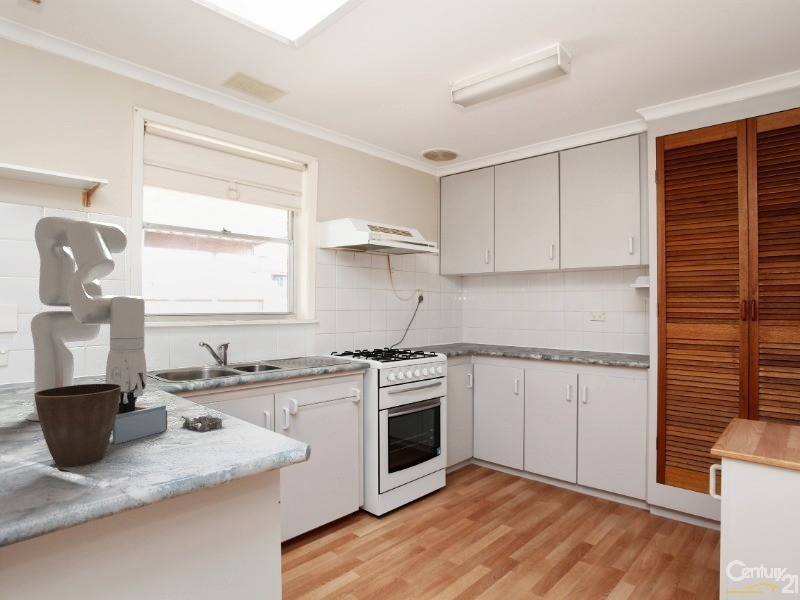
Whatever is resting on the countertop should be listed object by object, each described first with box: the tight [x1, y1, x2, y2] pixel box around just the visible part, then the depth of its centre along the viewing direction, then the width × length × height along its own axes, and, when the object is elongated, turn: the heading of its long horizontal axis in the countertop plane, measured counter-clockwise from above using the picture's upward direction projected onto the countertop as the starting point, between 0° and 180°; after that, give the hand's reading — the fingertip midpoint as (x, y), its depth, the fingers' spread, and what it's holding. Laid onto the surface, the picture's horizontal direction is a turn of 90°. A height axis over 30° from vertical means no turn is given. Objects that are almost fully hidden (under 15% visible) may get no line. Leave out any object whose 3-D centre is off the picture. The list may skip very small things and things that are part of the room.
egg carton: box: [180, 414, 224, 432], centre depth 126 cm, size 11×8×4 cm
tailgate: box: [112, 404, 167, 445], centre depth 116 cm, size 1×13×6 cm, turn 153°
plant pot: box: [33, 383, 121, 473], centre depth 98 cm, size 15×15×16 cm
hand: (127, 418), depth 118 cm, fingers closed
